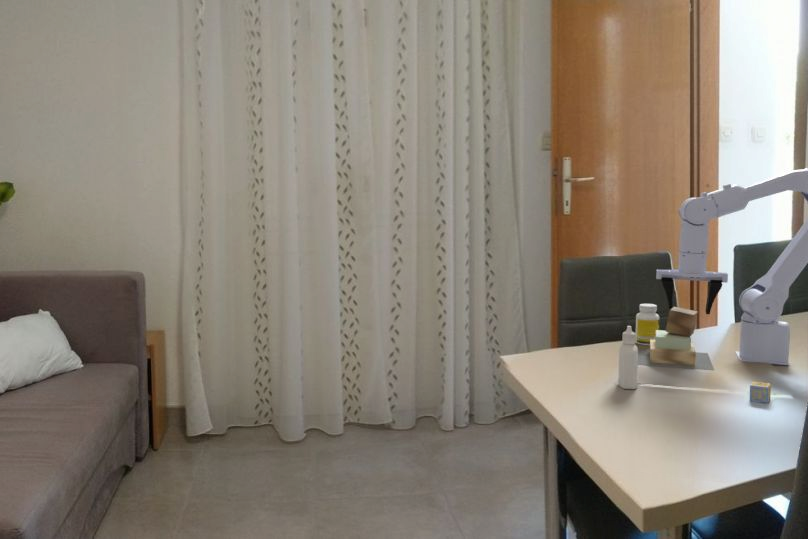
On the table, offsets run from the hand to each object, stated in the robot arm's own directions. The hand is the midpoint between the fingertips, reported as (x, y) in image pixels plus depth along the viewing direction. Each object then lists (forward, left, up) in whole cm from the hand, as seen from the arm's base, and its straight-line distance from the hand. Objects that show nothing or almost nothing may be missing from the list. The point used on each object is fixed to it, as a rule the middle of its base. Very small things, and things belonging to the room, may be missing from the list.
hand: (688, 312), depth 148 cm
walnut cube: (+2, +3, -4) cm, 5 cm away
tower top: (+3, +4, -7) cm, 9 cm away
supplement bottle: (+8, -10, -11) cm, 17 cm away
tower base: (+3, +4, -10) cm, 11 cm away
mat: (+3, +4, -10) cm, 12 cm away
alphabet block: (-11, +27, -11) cm, 31 cm away
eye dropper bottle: (+12, +25, -11) cm, 30 cm away
